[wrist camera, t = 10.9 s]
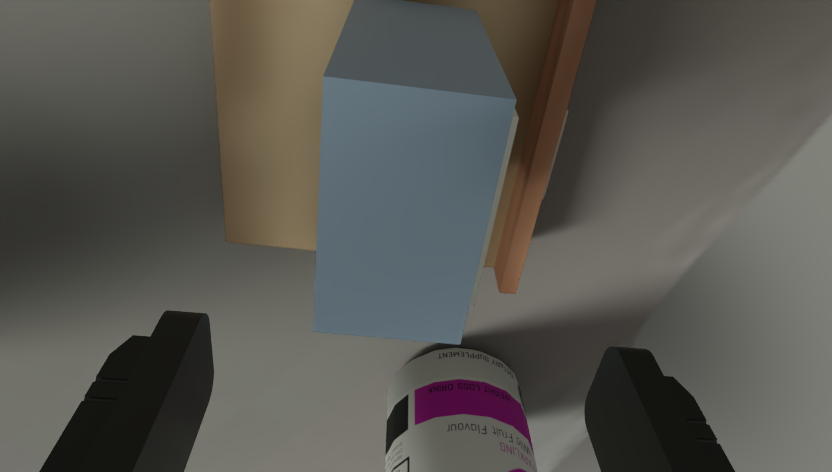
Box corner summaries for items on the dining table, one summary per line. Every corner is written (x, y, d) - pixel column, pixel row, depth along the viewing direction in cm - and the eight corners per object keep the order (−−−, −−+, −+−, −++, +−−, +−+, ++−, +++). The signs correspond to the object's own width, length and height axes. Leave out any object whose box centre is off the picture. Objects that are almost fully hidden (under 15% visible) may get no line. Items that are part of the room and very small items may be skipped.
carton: (356, -6, 22) (323, 75, 13) (486, 11, 22) (533, 101, 14) (343, 181, 26) (312, 331, 18) (452, 192, 26) (472, 345, 18)
